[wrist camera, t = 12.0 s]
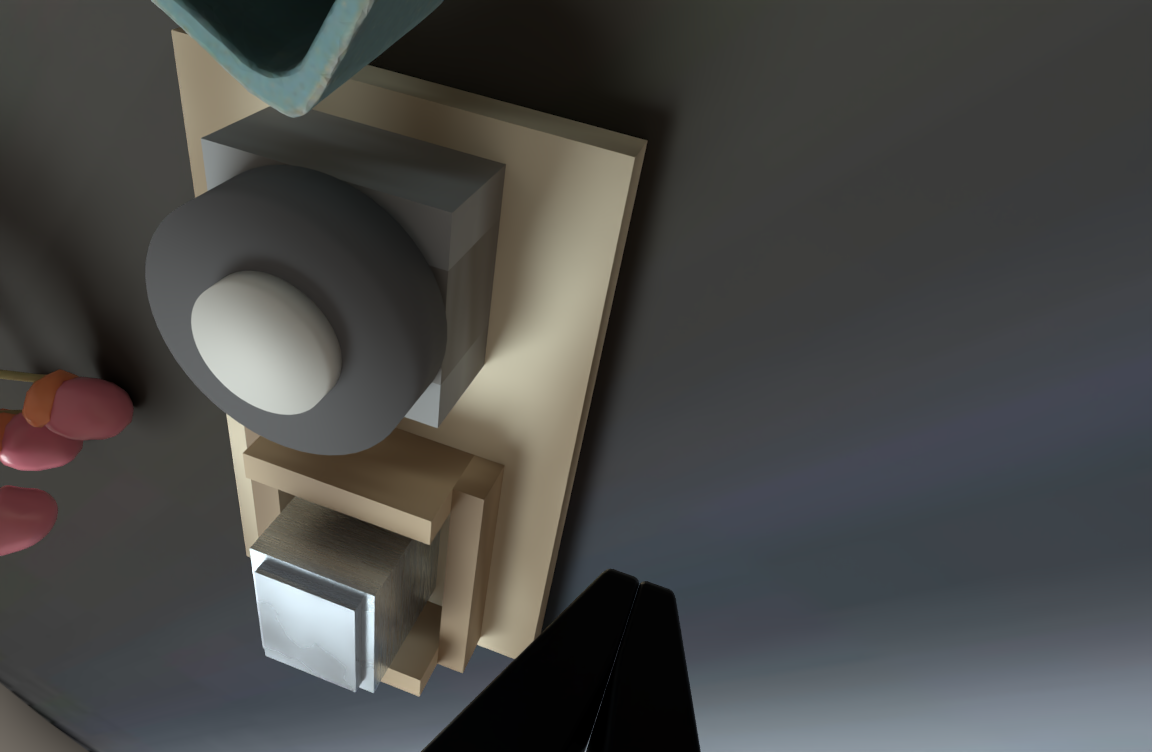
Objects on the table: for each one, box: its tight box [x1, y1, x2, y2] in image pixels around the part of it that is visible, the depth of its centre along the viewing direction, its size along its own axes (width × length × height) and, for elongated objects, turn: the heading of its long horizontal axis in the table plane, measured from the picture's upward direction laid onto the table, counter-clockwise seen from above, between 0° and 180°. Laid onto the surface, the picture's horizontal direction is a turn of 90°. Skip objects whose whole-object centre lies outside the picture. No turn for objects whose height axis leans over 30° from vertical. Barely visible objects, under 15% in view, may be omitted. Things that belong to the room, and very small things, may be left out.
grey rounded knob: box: [145, 165, 447, 455], centre depth 19 cm, size 6×6×5 cm
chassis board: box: [171, 27, 647, 697], centre depth 24 cm, size 12×20×4 cm, turn 170°
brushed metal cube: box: [250, 496, 441, 693], centre depth 26 cm, size 4×5×5 cm
